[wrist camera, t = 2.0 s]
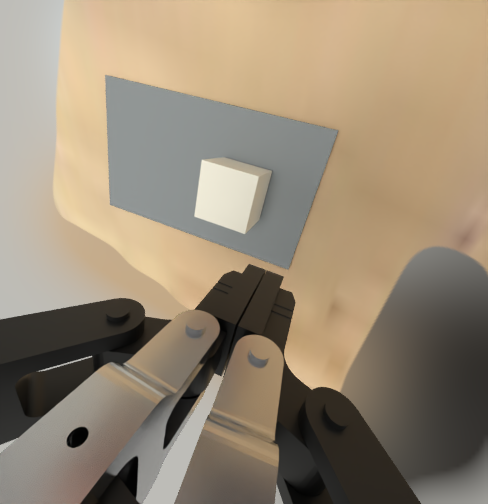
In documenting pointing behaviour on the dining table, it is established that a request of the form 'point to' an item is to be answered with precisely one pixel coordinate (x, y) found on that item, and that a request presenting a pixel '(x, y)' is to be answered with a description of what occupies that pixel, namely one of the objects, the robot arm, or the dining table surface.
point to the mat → (208, 147)
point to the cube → (231, 193)
